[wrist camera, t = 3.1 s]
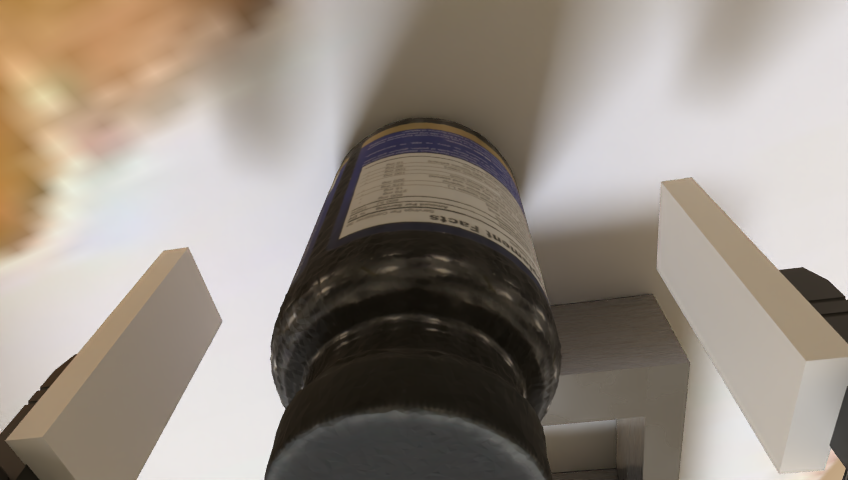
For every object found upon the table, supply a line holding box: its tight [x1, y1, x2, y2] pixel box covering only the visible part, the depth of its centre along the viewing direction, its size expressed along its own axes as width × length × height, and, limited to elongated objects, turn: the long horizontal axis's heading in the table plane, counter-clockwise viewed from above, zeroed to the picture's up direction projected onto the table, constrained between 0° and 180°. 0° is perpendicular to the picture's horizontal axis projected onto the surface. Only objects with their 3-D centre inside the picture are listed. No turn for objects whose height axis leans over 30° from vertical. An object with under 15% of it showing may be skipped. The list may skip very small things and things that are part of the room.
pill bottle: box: [264, 118, 562, 480], centre depth 13 cm, size 6×6×11 cm
